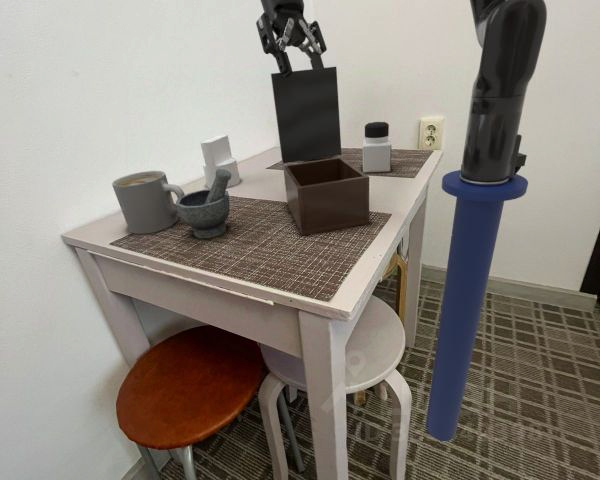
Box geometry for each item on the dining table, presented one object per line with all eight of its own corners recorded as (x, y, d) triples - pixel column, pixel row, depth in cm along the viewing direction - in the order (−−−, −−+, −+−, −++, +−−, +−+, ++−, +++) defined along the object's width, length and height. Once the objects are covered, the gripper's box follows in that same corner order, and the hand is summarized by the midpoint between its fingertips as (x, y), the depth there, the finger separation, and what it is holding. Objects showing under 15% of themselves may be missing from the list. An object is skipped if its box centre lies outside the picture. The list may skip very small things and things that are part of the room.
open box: (369, 223, 60) (369, 176, 56) (302, 235, 58) (297, 188, 54) (342, 195, 74) (341, 156, 69) (287, 204, 72) (282, 165, 68)
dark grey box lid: (336, 66, 62) (335, 66, 63) (271, 73, 61) (270, 73, 61) (341, 154, 69) (340, 154, 70) (282, 163, 67) (282, 163, 68)
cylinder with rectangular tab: (218, 177, 96) (209, 135, 90) (245, 178, 93) (238, 134, 87) (200, 188, 89) (189, 143, 83) (229, 189, 86) (220, 142, 80)
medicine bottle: (390, 171, 86) (392, 123, 80) (362, 173, 87) (362, 126, 81) (388, 164, 92) (390, 119, 86) (362, 165, 93) (362, 121, 87)
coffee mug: (118, 232, 67) (100, 185, 63) (152, 212, 75) (138, 170, 71) (170, 237, 63) (154, 187, 58) (200, 216, 71) (189, 170, 66)
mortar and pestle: (176, 243, 60) (156, 180, 55) (196, 221, 68) (181, 164, 63) (234, 241, 59) (220, 176, 53) (248, 219, 67) (237, 161, 61)
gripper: (257, -35, 54) (288, 64, 55) (317, -19, 62) (343, 66, 64) (236, -3, 60) (265, 85, 61) (294, 8, 68) (318, 85, 70)
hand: (304, 75), depth 63 cm, fingers open, 8 cm apart
